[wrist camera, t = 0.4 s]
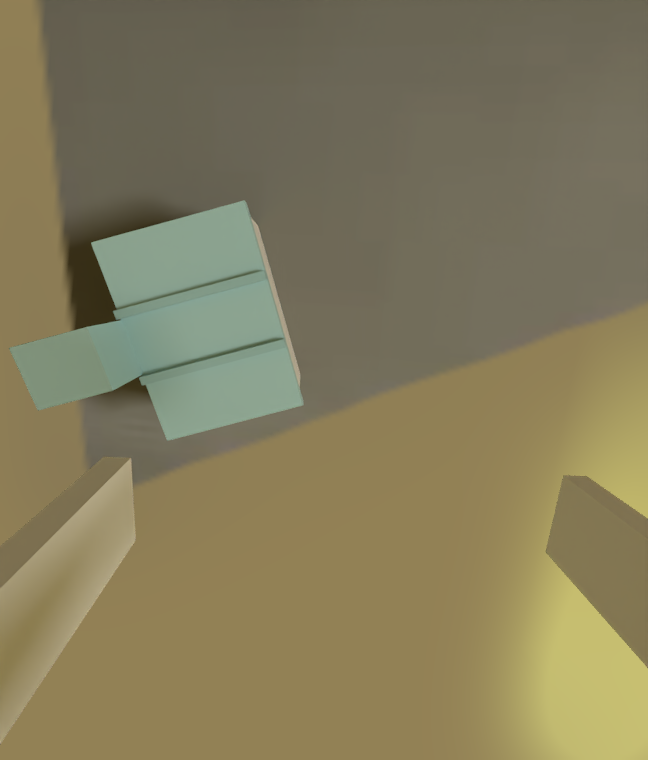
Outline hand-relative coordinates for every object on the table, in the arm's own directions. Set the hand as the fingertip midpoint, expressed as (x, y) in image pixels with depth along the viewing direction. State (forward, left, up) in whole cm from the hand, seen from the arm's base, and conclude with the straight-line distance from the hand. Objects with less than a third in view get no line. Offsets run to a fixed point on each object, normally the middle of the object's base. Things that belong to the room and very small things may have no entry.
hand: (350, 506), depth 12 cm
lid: (-6, -10, -19) cm, 22 cm away
